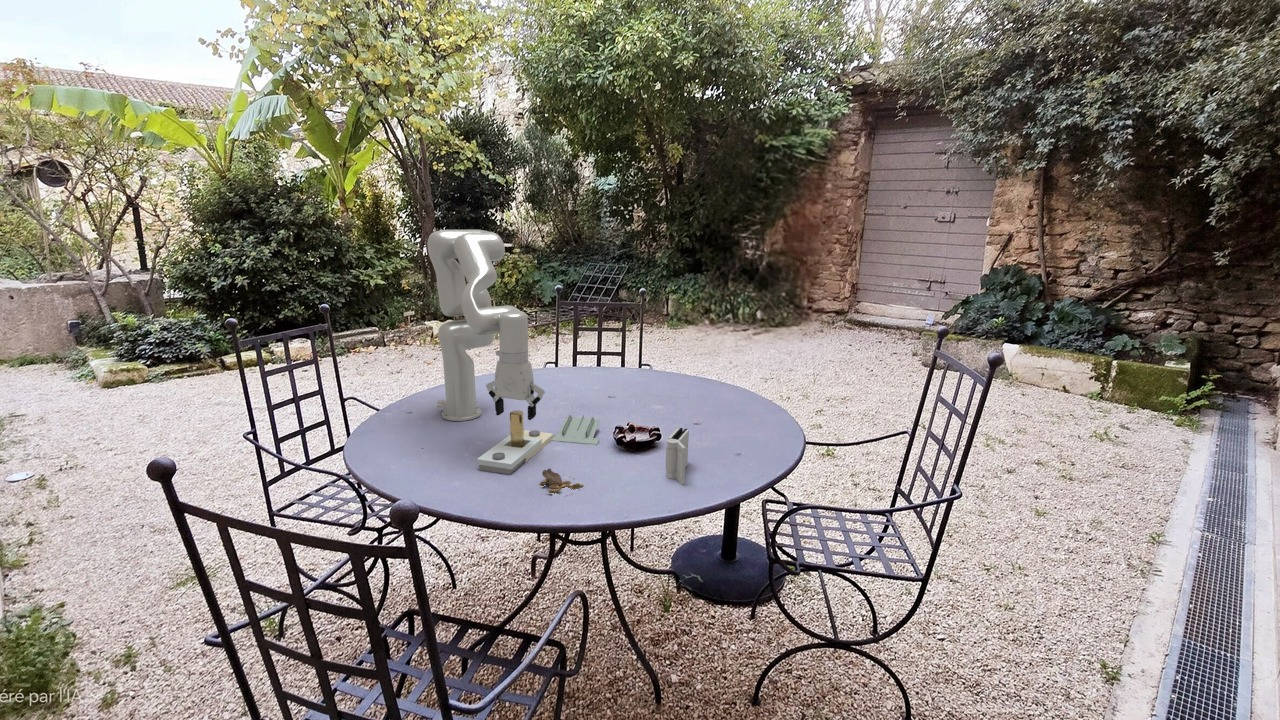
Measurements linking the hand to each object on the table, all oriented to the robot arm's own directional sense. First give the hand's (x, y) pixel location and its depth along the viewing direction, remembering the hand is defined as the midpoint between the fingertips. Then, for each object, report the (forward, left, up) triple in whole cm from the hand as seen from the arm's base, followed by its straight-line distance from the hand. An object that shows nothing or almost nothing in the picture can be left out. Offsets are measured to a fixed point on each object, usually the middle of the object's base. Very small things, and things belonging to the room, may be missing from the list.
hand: (515, 416), depth 163 cm
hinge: (+46, +2, -11) cm, 48 cm away
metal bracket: (+11, +18, -12) cm, 24 cm away
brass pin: (0, 0, -11) cm, 11 cm away
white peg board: (0, 0, -11) cm, 11 cm away
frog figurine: (+19, -16, -12) cm, 27 cm away
